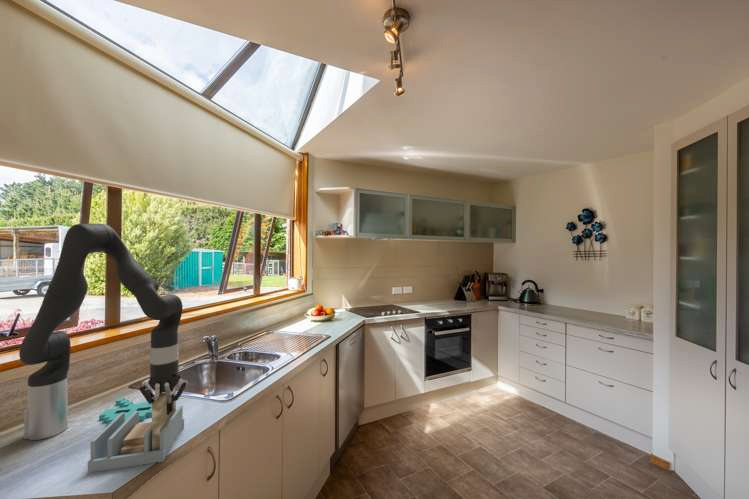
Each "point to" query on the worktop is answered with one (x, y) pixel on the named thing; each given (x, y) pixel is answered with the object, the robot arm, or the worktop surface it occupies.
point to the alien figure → (127, 410)
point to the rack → (116, 432)
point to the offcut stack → (135, 439)
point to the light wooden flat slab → (160, 418)
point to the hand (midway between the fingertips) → (164, 413)
